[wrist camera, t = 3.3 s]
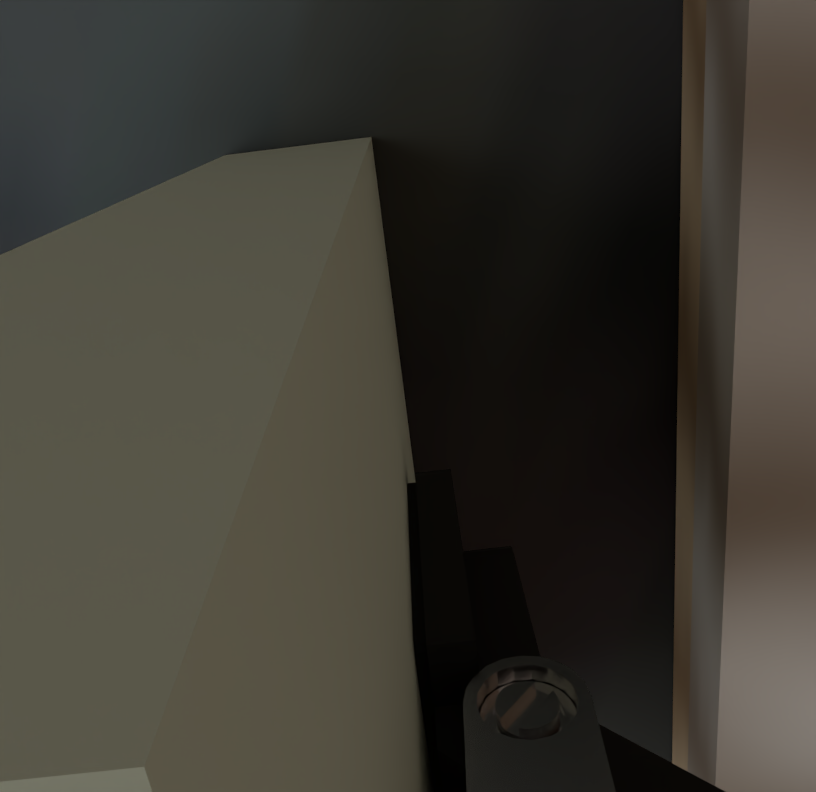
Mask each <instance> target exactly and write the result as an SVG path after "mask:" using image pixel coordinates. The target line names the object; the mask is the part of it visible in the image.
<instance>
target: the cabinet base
mask: <svg viewBox="0 0 816 792" xmlns="http://www.w3.org/2000/svg"><path fill="white" fill-rule="evenodd" d="M672 763H673V764H674V765H676V766H678V767H680V768H682V769H684V770H686V771H688V772H690V773H691V774H693V775H695V776H697V777H699V778H701V779H703V780H705V781H706V782H708V783H710V784H712V785H714V786H716V787H718V788H720V789H722V790H723V791H725V792H816V0H683V53H682V121H681V189H680V257H679V326H678V394H677V462H676V530H675V599H674V667H673V735H672Z"/></svg>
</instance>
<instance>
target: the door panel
mask: <svg viewBox="0 0 816 792" xmlns="http://www.w3.org/2000/svg"><path fill="white" fill-rule="evenodd" d="M415 482H416V481H415V473H414V465H413V458H412V450H411V442H410V434H409V426H408V419H407V411H406V403H405V395H404V387H403V380H402V372H401V364H400V356H399V348H398V341H397V333H396V325H395V317H394V309H393V302H392V294H391V286H390V278H389V270H388V263H387V255H386V247H385V239H384V231H383V223H382V216H381V208H380V200H379V192H378V184H377V177H376V169H375V161H374V153H373V145H372V138H371V137H367V138H359V139H351V140H343V141H335V142H327V143H319V144H311V145H303V146H295V147H287V148H279V149H271V150H263V151H255V152H247V153H239V154H231V155H224V156H222V157H220V158H218V159H215V160H213V161H211V162H209V163H206V164H204V165H202V166H200V167H197V168H195V169H193V170H191V171H188V172H186V173H184V174H182V175H179V176H177V177H175V178H173V179H170V180H168V181H166V182H164V183H161V184H159V185H157V186H155V187H152V188H150V189H148V190H146V191H143V192H141V193H139V194H137V195H134V196H132V197H130V198H128V199H125V200H123V201H121V202H119V203H116V204H114V205H112V206H110V207H107V208H105V209H103V210H100V211H98V212H96V213H94V214H91V215H89V216H87V217H85V218H82V219H80V220H78V221H76V222H73V223H71V224H69V225H67V226H64V227H62V228H60V229H58V230H55V231H53V232H51V233H49V234H46V235H44V236H42V237H40V238H37V239H35V240H33V241H31V242H28V243H26V244H24V245H22V246H19V247H17V248H15V249H13V250H10V251H8V252H6V253H4V254H1V255H0V792H434V790H433V783H432V776H431V769H430V762H429V755H428V748H427V741H426V734H425V727H424V720H423V713H422V706H421V699H420V692H419V685H418V678H417V671H416V663H415V654H414V643H413V626H412V600H411V574H410V548H409V522H408V496H407V483H415Z"/></svg>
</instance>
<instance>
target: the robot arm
mask: <svg viewBox="0 0 816 792" xmlns="http://www.w3.org/2000/svg"><path fill="white" fill-rule="evenodd" d="M407 496H408V522H409V548H410V574H411V600H412V626H413V643H414V654H415V663H416V671H417V678H418V685H419V692H420V699H421V706H422V713H423V720H424V727H425V734H426V741H427V748H428V755H429V762H430V769H431V776H432V783H433V790H434V792H725V791H723V790H722V789H720V788H718V787H716V786H714V785H712V784H710V783H708V782H706V781H705V780H703V779H701V778H699V777H697V776H695V775H693V774H691V773H690V772H688V771H686V770H684V769H682V768H680V767H678V766H676V765H674V764H673V763H671V762H669V761H667V760H665V759H663V758H661V757H659V756H658V755H656V754H654V753H652V752H650V751H648V750H646V749H644V748H643V747H641V746H639V745H637V744H635V743H633V742H631V741H629V740H627V739H626V738H624V737H622V736H620V735H618V734H616V733H614V732H612V731H611V730H609V729H607V728H605V727H603V726H601V725H599V723H598V719H597V715H596V711H595V707H594V703H593V699H592V695H591V693H590V691H589V689H588V687H587V685H586V683H585V681H584V680H583V679H582V678H581V677H580V676H579V675H578V674H577V673H576V672H575V671H574V670H573V669H571V668H569V667H567V666H565V665H563V664H562V663H560V662H558V661H555V660H551V659H547V658H543V657H540V654H539V651H538V647H537V643H536V639H535V635H534V631H533V627H532V623H531V619H530V616H529V612H528V608H527V604H526V600H525V596H524V592H523V588H522V584H521V581H520V577H519V573H518V569H517V565H516V561H515V557H514V553H513V550H512V547H511V546H509V547H499V548H490V549H481V550H472V551H463V550H462V543H461V537H460V530H459V523H458V517H457V510H456V503H455V497H454V490H453V483H452V477H451V470H450V469H448V470H440V471H431V472H422V473H416V482H415V483H407Z"/></svg>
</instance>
